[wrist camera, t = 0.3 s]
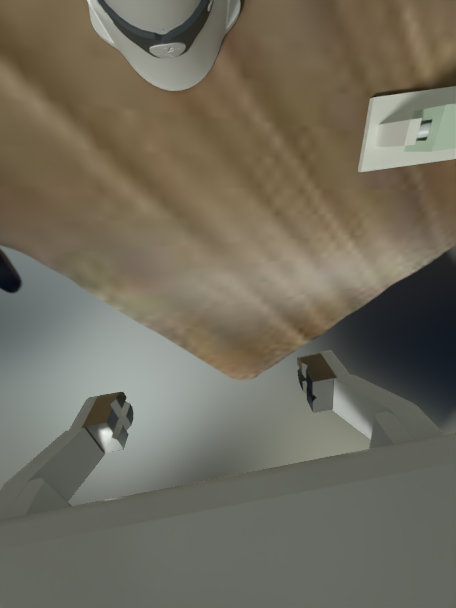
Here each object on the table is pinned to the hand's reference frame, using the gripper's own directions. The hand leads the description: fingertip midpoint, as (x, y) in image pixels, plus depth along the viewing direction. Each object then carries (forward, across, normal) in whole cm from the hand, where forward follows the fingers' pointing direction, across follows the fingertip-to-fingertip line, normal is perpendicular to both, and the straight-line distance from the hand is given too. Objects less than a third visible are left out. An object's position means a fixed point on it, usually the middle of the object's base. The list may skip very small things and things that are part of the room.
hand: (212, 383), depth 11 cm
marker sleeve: (+33, -36, -9) cm, 50 cm away
